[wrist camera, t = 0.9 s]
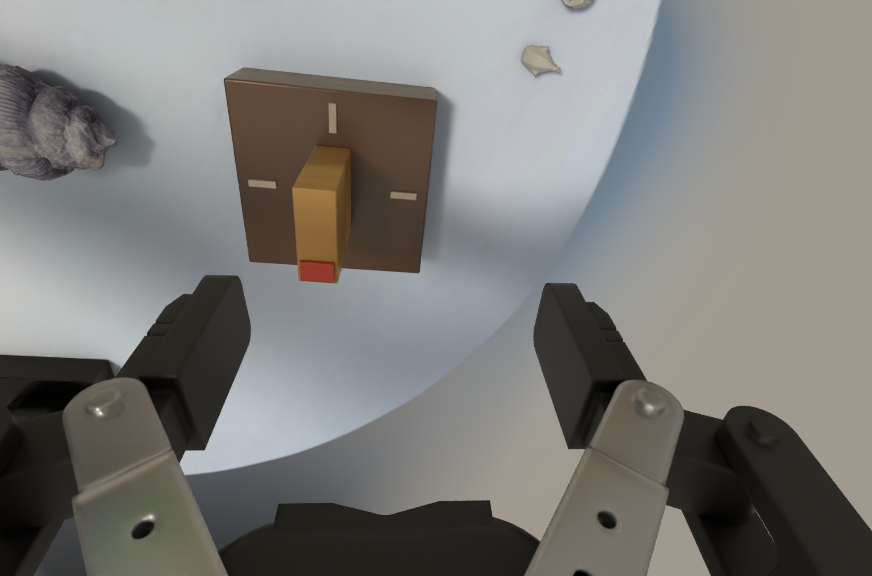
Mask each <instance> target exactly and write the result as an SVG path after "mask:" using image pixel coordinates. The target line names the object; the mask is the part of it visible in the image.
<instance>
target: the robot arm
mask: <svg viewBox="0 0 872 576" xmlns="http://www.w3.org/2000/svg"><path fill="white" fill-rule="evenodd" d="M250 335H251V325H250V319H249V315H248V310H247V306H246V301H245V297H244V292H243V288H242V283H241V280H240V278H239V277H238V276H227V275H206V276H204V277H203V279H202V280H201V282H200V283H199V285H198V286H197V288H196V289H195V291H194V292H193V294H183V295H181V296H180V297H179V298H177V299H176V300H174V301H173V302H172V303H170V304H169V305H167V306H166V307H165V308H164V310H163V311H162V313H161V314H160V315H159V317H158V318H157V320H156V324H153V325H152V327H151V328H150V329H149V331H148V332H147V336H144V338H143V339H142V341H141V342H140V343H139V345H138V346H137V348H136V349H135V350H134V352H133V353H132V355H131V356H130V357H129V359H128V360H127V362H126V363H125V364H124V366H123V367H122V369H121V370H120V371H119V373H118V374H117V376H116V377H115V378H113V379H109V380H105V381H102V382H99V383H96V384H94V385H92V386H90V387H88V388H86V389H85V390H83V391H82V392H80V393H79V394H78V395H76V396H75V397H74V398H73V399H72V400H71V401H70V402H69V403H68V405H67V406H66V408H65V410H62V411H58V412H54V413H49V414H45V415H40V416H36V417H32V418H27V419H23V420H18V421H16V420H15V418H14V417H13V415H12V414H11V413H10V411H9V410H8V409H7V408H5V407H3V406H0V576H34V574H35V572H36V570H37V568H38V567H39V565H40V563H41V561H42V560H43V557H44V556H45V554H46V552H47V550H48V549H49V547H50V545H51V543H52V542H53V540H54V538H55V536H56V534H57V532H58V531H59V529H60V527H61V525H62V524H63V522H64V520H65V519H68V518H71V517H75V521H76V526H77V530H78V535H79V540H80V544H81V549H82V554H83V558H84V563H85V567H86V572H87V576H646V575H647V571H648V568H649V564H650V560H651V557H652V553H653V550H654V546H655V542H656V538H657V535H658V531H659V527H660V524H661V520H662V517H663V513H664V510H665V505H667V506H671V507H674V508H678V509H681V510H682V512H683V514H684V517H685V519H686V521H687V523H688V526H689V528H690V530H691V532H692V535H693V537H694V539H695V541H696V544H697V546H698V548H699V550H700V553H701V555H702V557H703V559H704V561H705V564H706V566H707V568H708V570H709V573H710V575H711V576H872V531H871V529H870V528H869V527H868V526H867V524H866V523H865V522H864V521H863V519H862V518H861V517H860V515H859V514H858V513H857V511H856V510H855V509H854V507H853V506H852V505H851V503H850V502H849V501H848V500H847V498H846V497H845V496H844V495H843V493H842V492H841V491H840V489H839V488H838V487H837V485H836V484H835V483H834V481H833V480H832V479H831V478H830V476H829V475H828V474H827V472H826V471H825V470H824V468H823V467H822V466H821V464H820V463H819V462H818V460H817V459H816V458H815V457H814V455H813V454H812V453H811V451H810V450H809V449H808V448H807V446H806V445H805V444H804V442H803V441H802V440H801V438H800V437H799V436H798V434H797V433H796V432H795V431H794V430H793V429H792V428H791V427H790V426H789V425H788V424H787V423H785V422H784V421H782V420H781V419H780V418H778V417H777V416H775V415H773V414H771V413H769V412H766V411H764V410H761V409H759V408H755V407H750V406H737V407H734V408H731V409H730V410H729V411H728V413H727V414H726V416H725V417H724V419H723V420H721V419H717V418H713V417H709V416H705V415H701V414H697V413H693V412H690V411H686V410H683V408H682V406H681V404H680V402H679V401H678V400H677V399H676V398H675V397H674V396H673V395H672V394H671V393H670V392H669V391H667V390H666V389H664V388H663V387H661V386H659V385H656V384H654V383H652V382H648V381H647V380H646V378H645V376H644V375H643V373H642V371H641V369H640V368H639V366H638V364H637V363H636V361H635V359H634V357H633V356H632V354H631V352H630V351H629V349H628V347H627V345H626V344H625V342H623V339H622V337H621V335H620V333H619V332H618V331H616V326H615V325H614V323H613V321H612V320H611V318H610V316H609V315H608V313H606V312H605V311H604V310H603V309H601V308H600V307H599V306H598V305H597V304H595V303H594V302H585V300H584V298H583V296H582V294H581V292H580V290H579V289H578V287H577V285H576V284H574V283H547V284H545V286H544V289H543V292H542V297H541V301H540V305H539V309H538V314H537V318H536V323H535V327H534V347H535V351H536V354H537V357H538V360H539V363H540V366H541V368H542V372H543V375H544V378H545V381H546V383H547V387H548V390H549V393H550V395H551V399H552V402H553V405H554V408H555V411H556V414H557V417H558V420H559V422H560V425H561V428H562V431H563V434H564V437H565V440H566V443H567V446H568V449H585V451H584V454H583V455H582V457H581V460H580V462H579V464H578V466H577V468H576V470H575V472H574V474H573V476H572V478H571V480H570V482H569V484H568V486H567V488H566V491H565V492H564V495H563V497H562V499H561V501H560V503H559V505H558V507H557V509H556V511H555V513H554V515H553V517H552V519H551V521H550V523H549V526H548V527H547V530H546V532H545V534H544V536H543V538H542V540H541V542H540V541H539V540H538V539H537V538H535V537H534V536H532V535H531V534H529V533H528V532H526V531H525V530H523V529H521V528H520V527H518V526H516V525H514V524H512V523H509V522H507V521H504V520H501V519H498V518H494V517H492V511H491V505H490V500H485V501H484V500H482V501H438V502H435V503H431V504H427V505H424V506H420V507H416V508H413V509H409V510H406V511H402V512H398V513H395V514H392V515H379V514H375V513H371V512H367V511H363V510H359V509H355V508H351V507H346V506H342V505H338V504H334V503H302V504H301V503H298V504H278V509H277V513H276V517H275V521H274V522H270V523H267V524H264V525H262V526H259V527H257V528H254V529H252V530H250V531H248V532H246V533H244V534H242V535H241V536H239V537H237V538H236V539H234V540H233V541H231V542H230V543H228V544H227V545H225V546H224V547H223V548H221V549H220V550H219V551H217V549H216V547H215V545H214V542H213V540H212V538H211V535H210V533H209V531H208V529H207V526H206V524H205V522H204V519H203V517H202V515H201V512H200V510H199V508H198V506H197V503H196V501H195V499H194V496H193V494H192V492H191V489H190V487H189V485H188V483H187V480H186V478H185V476H184V473H183V471H182V469H181V467H180V464H179V463H180V461H181V459H182V457H183V455H184V452H185V451H186V450H205V448H206V446H207V443H208V441H209V438H210V436H211V434H212V431H213V429H214V427H215V424H216V422H217V419H218V417H219V415H220V412H221V410H222V408H223V405H224V403H225V400H226V398H227V396H228V393H229V391H230V389H231V386H232V384H233V381H234V379H235V377H236V374H237V372H238V370H239V367H240V365H241V362H242V360H243V358H244V355H245V353H246V350H247V348H248V345H249V342H250ZM756 511H757V512H756ZM757 513H758V514H759V516H760V517H759V516H758V514H757ZM760 518H761V519H762V521H763V522H762V521H761V519H760ZM763 523H764V524H765V526H766V528H767V529H766V528H765V526H764V524H763ZM767 530H768V531H769V533H770V534H769V533H768V531H767ZM770 535H771V536H772V538H773V540H774V541H773V540H772V538H771V536H770Z"/></svg>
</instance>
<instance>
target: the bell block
mask: <svg viewBox="0 0 872 576" xmlns="http://www.w3.org/2000/svg"><path fill="white" fill-rule="evenodd" d="M113 378H115V377H114V374H113V372H112V369H111V367H110V364H109V362H108V360H90V359H69V358H47V357H26V356H5V355H0V406H3V407H5V408H7V409H8V410H9V411H10V413H11V414H12V415H13V417H14V418H15V420H16V421H18V420H23V419H27V418H32V417H36V416H40V415H45V414H49V413H54V412H58V411H62V410H65V408H66V406H67V405H68V403H69V402H70V401H71V400H72V399H73V398H74V397H75V396H76V395H78V394H79V393H80V392H82V391H83V390H85V389H86V388H88V387H90V386H92V385H94V384H96V383H99V382H102V381H105V380H109V379H113Z"/></svg>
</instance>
